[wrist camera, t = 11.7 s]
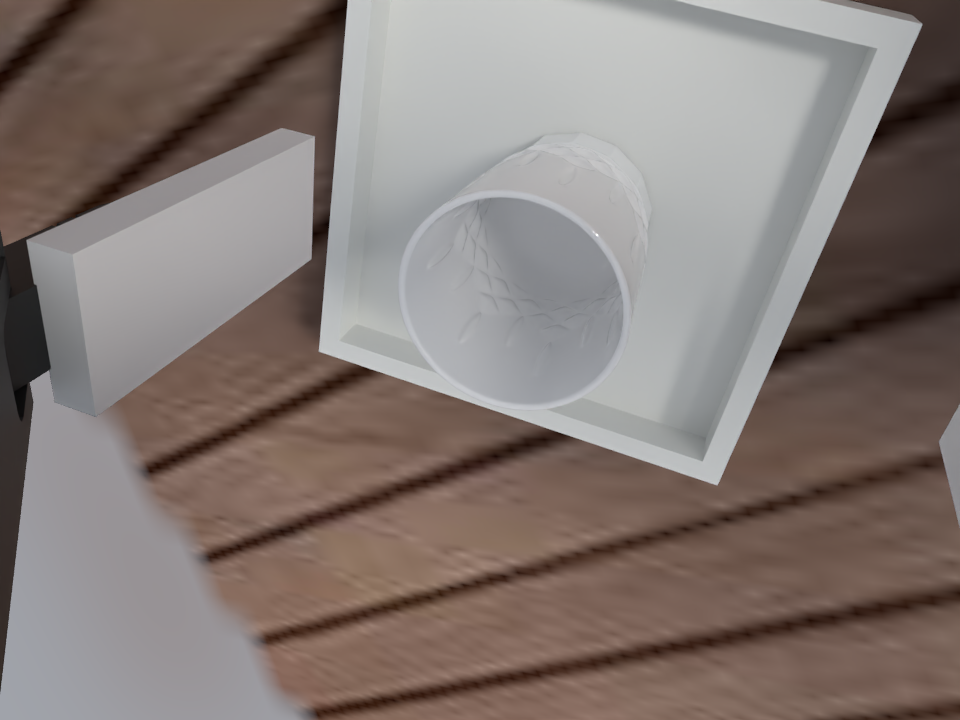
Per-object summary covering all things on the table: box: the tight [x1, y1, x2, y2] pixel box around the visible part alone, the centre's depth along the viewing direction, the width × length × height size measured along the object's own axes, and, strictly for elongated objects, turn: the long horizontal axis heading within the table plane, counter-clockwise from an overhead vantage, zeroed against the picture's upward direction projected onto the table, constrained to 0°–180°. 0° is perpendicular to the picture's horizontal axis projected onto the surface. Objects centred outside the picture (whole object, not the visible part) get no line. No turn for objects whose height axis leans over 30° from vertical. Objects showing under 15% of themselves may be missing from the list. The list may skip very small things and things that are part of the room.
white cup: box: [398, 132, 652, 411], centre depth 31 cm, size 8×8×10 cm
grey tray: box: [319, 0, 923, 485], centre depth 34 cm, size 20×20×2 cm
